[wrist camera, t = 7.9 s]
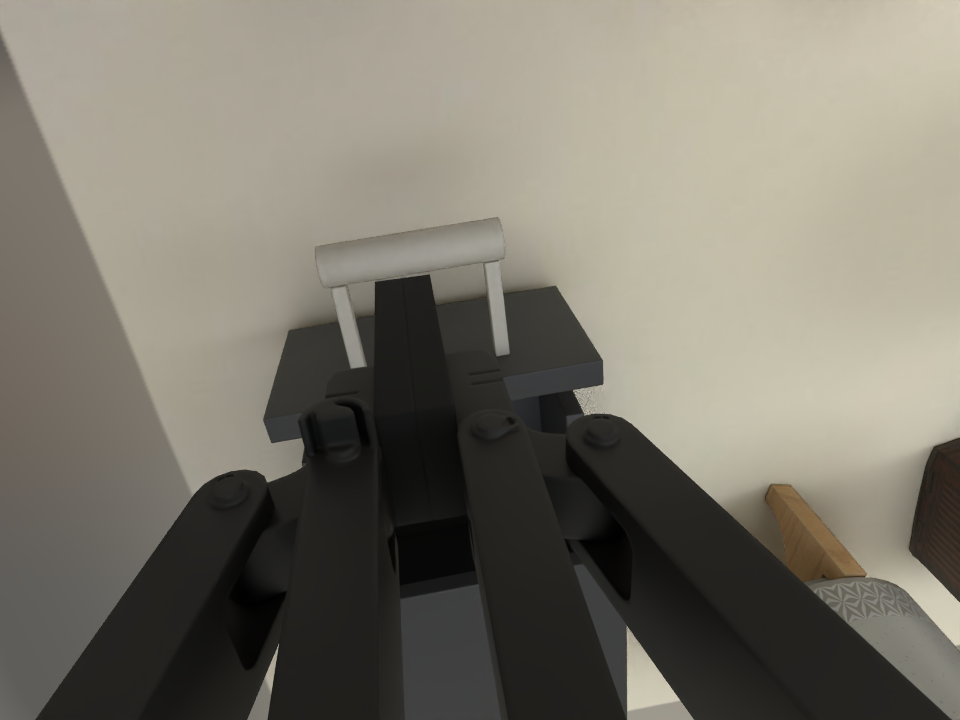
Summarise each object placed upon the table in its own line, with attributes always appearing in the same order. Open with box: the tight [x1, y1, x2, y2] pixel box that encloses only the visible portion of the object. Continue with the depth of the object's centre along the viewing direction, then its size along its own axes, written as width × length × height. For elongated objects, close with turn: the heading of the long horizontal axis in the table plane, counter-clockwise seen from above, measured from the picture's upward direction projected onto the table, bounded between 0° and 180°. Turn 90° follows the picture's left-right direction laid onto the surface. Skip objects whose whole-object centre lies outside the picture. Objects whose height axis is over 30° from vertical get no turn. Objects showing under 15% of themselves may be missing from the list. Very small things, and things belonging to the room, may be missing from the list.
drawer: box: [263, 217, 603, 585], centre depth 31 cm, size 20×14×8 cm, turn 7°
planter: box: [765, 485, 960, 720], centre depth 38 cm, size 13×13×18 cm
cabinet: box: [400, 552, 627, 720], centre depth 37 cm, size 16×15×10 cm
